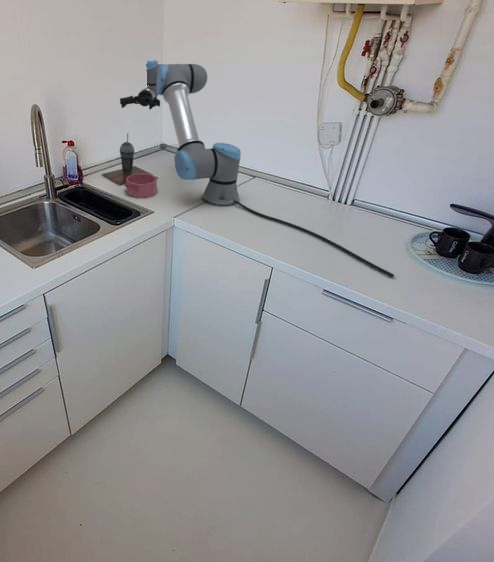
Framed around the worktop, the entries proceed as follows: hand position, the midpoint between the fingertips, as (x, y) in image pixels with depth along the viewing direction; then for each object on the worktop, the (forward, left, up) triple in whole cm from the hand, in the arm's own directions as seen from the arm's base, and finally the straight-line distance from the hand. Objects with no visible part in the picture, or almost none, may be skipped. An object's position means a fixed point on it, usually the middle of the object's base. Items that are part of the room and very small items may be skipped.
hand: (135, 105), depth 176 cm
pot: (-25, +15, -31) cm, 42 cm away
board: (-5, +9, -31) cm, 32 cm away
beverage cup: (-5, +9, -30) cm, 32 cm away
